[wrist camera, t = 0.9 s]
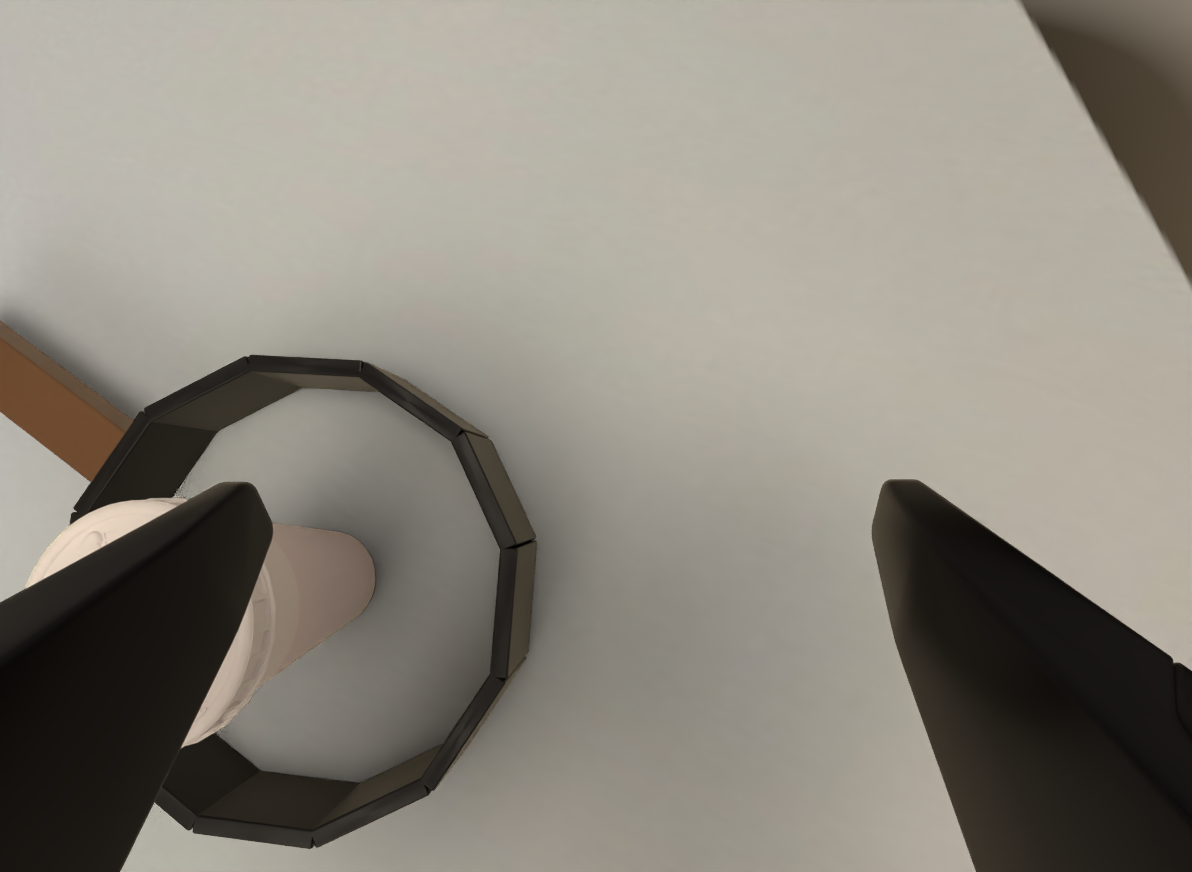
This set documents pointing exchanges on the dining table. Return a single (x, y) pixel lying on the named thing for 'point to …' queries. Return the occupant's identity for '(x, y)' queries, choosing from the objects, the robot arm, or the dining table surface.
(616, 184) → the dining table surface
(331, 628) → the smoothie
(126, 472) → the pan
